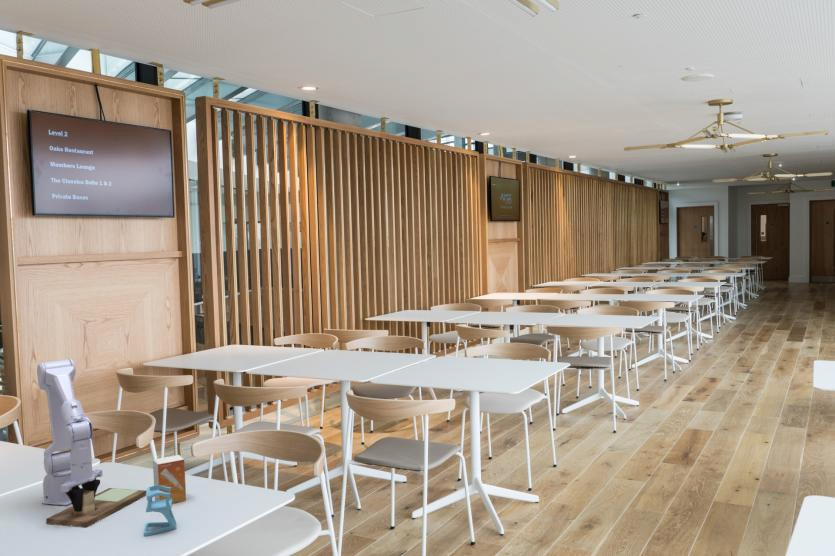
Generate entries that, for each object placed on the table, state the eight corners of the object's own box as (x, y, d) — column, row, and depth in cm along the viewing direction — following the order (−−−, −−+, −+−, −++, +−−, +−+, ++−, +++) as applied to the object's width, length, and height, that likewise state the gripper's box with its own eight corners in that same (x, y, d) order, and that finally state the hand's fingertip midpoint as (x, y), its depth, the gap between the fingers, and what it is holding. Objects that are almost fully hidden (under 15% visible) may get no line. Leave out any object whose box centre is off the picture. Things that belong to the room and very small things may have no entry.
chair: (175, 532, 196) (173, 488, 195) (143, 536, 193) (141, 492, 193) (176, 522, 203) (175, 480, 203) (145, 526, 201) (143, 483, 200)
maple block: (73, 518, 209) (72, 494, 209) (83, 513, 213) (82, 490, 213) (85, 519, 208) (83, 495, 208) (95, 514, 212) (93, 490, 211)
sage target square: (89, 500, 219) (89, 499, 219) (112, 489, 229) (112, 488, 229) (117, 502, 217) (117, 501, 217) (138, 491, 226) (138, 490, 226)
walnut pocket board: (46, 523, 206) (46, 518, 206) (109, 492, 231) (109, 488, 231) (86, 527, 202) (86, 522, 202) (146, 495, 227) (146, 490, 227)
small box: (159, 506, 216) (157, 464, 215) (154, 501, 221) (152, 459, 220) (187, 500, 220) (184, 458, 220) (181, 495, 225) (178, 454, 225)
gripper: (73, 470, 202) (76, 518, 202) (109, 455, 215) (112, 500, 216) (53, 469, 204) (56, 516, 204) (90, 454, 217) (93, 498, 218)
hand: (84, 508), depth 210 cm, fingers closed on maple block, 4 cm apart
